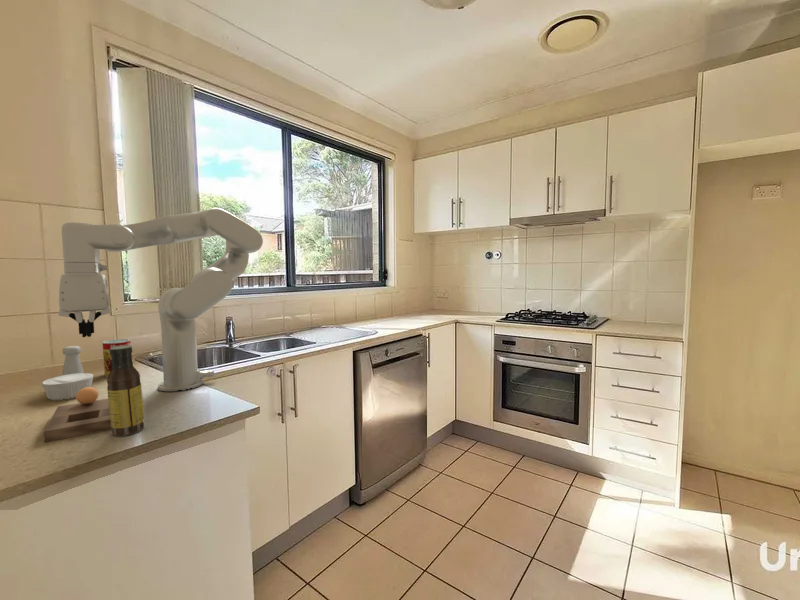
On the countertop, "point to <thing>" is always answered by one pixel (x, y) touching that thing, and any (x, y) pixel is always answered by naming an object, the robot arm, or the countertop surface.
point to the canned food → (106, 352)
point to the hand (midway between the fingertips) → (87, 336)
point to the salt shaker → (72, 360)
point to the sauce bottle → (124, 393)
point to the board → (78, 420)
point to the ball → (87, 395)
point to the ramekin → (66, 385)
